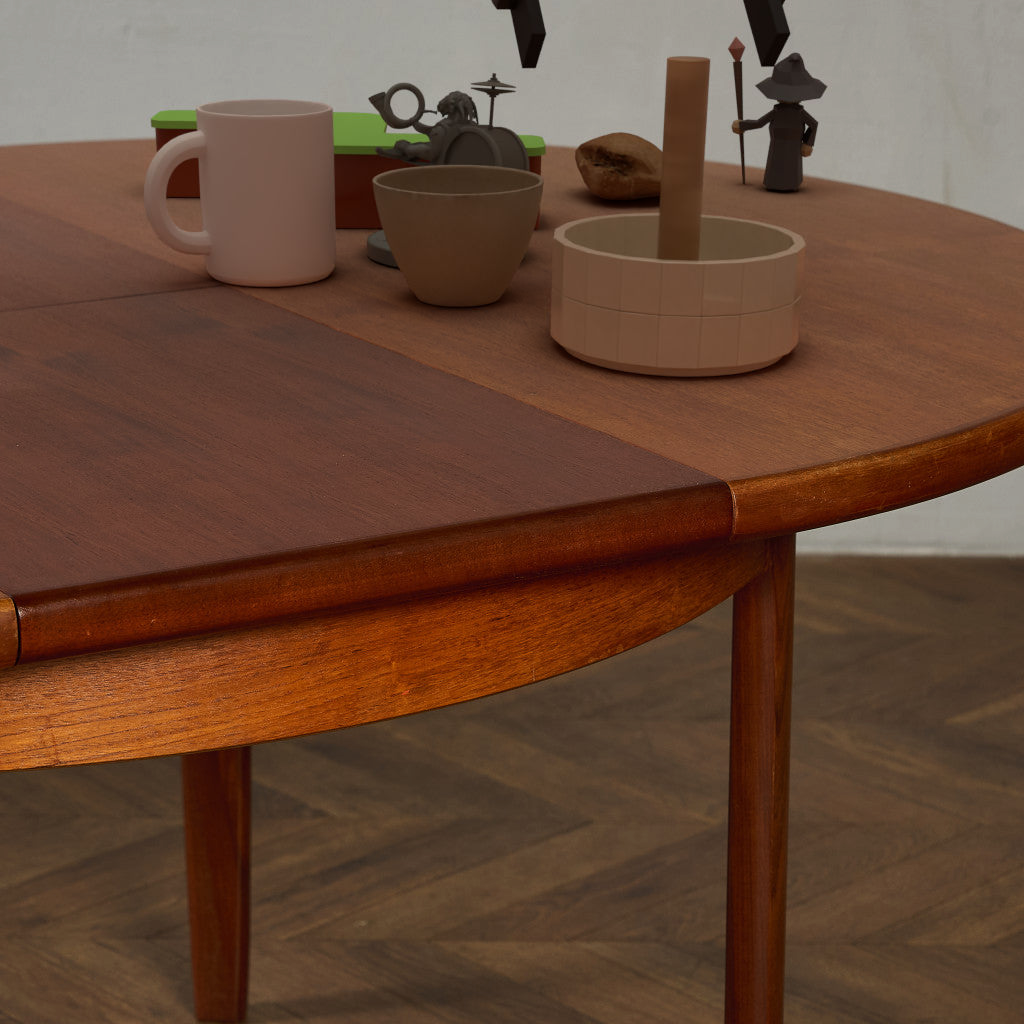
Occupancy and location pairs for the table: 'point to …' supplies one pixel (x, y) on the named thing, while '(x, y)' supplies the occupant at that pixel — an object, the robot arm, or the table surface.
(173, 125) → the planter
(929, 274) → the table surface
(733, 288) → the bowl
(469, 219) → the flower pot
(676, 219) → the masher
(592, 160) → the brown rounded lump
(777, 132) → the wizard figurine
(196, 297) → the table surface
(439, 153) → the figurine
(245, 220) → the mug
